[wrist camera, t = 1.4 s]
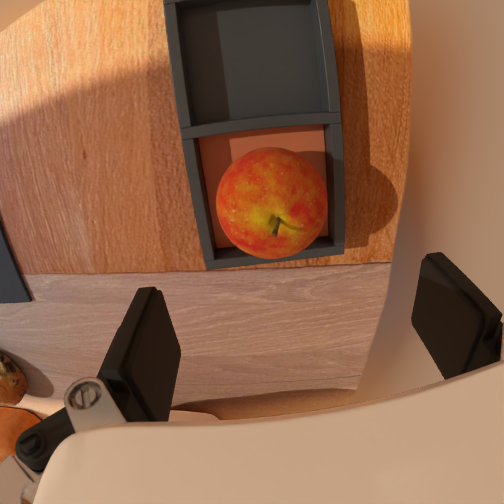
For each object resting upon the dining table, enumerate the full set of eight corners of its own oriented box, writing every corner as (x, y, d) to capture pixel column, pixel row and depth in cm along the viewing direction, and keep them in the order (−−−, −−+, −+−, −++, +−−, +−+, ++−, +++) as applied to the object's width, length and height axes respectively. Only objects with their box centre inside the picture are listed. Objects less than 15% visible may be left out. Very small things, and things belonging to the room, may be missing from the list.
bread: (-33, 398, 40) (-60, 448, 26) (29, 406, 38) (-1, 478, 24) (4, 436, 46) (-16, 485, 32) (75, 449, 44) (56, 515, 30)
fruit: (273, 121, 21) (290, 131, 14) (332, 193, 23) (370, 237, 16) (200, 183, 23) (180, 225, 15) (261, 247, 25) (269, 309, 18)
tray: (169, 4, 17) (162, -5, 15) (316, -10, 16) (323, -20, 14) (208, 256, 26) (205, 270, 24) (336, 241, 26) (344, 254, 24)
